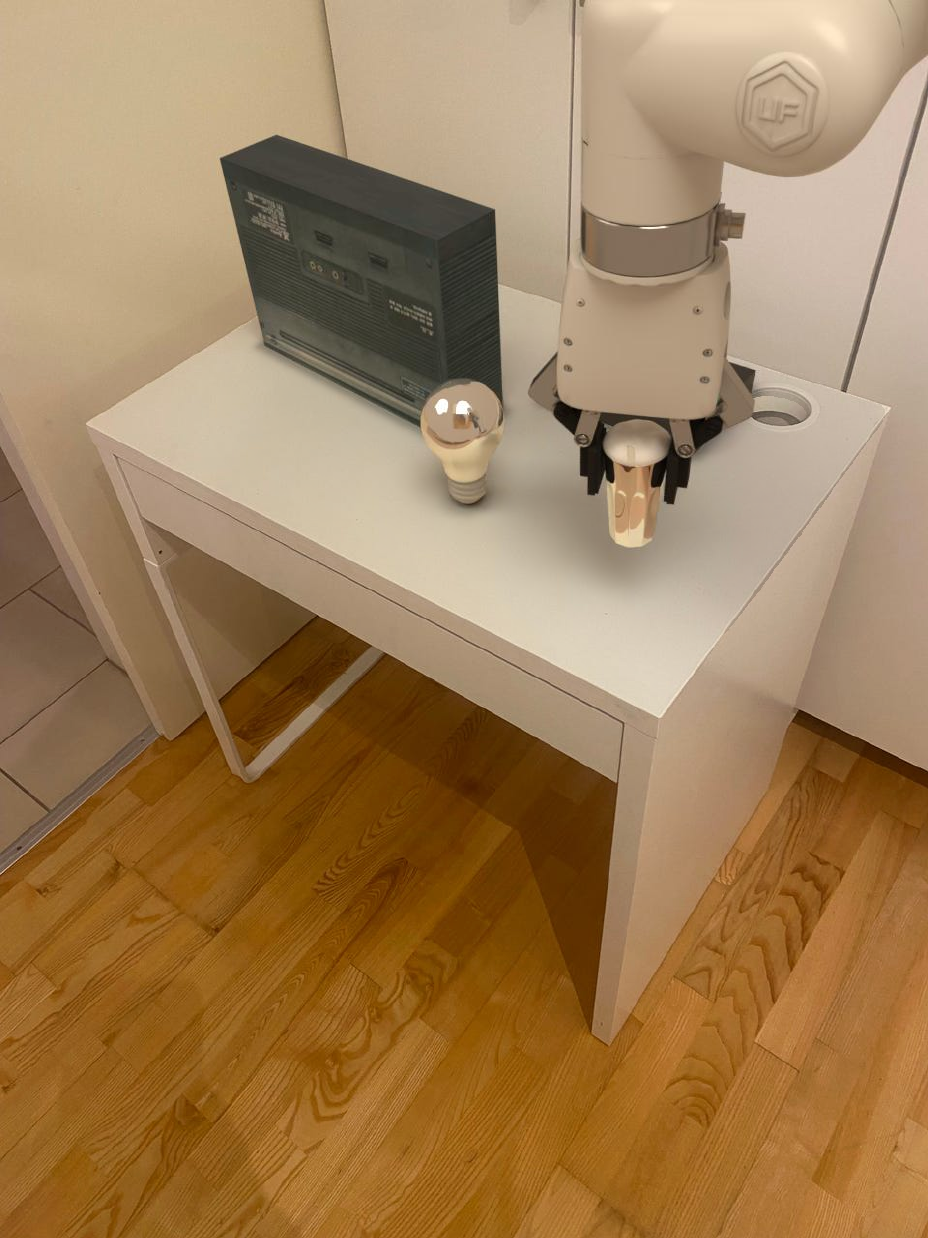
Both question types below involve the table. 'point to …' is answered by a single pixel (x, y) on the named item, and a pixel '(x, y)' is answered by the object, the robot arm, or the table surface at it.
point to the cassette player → (367, 273)
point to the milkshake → (634, 479)
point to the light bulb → (463, 433)
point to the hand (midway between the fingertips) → (633, 485)
